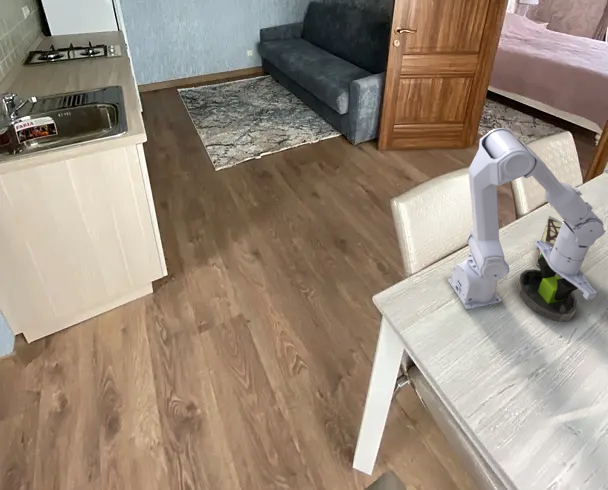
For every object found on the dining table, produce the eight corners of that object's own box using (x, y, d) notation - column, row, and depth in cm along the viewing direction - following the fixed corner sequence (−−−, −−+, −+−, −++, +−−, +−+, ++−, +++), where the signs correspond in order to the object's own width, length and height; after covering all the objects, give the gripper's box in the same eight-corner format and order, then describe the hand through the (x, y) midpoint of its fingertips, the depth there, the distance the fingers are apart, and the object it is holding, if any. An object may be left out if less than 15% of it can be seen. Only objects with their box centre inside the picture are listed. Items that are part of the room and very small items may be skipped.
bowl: (571, 333, 77) (575, 324, 76) (512, 302, 84) (515, 293, 82) (574, 295, 85) (578, 287, 84) (520, 269, 92) (523, 261, 91)
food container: (563, 283, 88) (575, 254, 85) (535, 270, 92) (545, 242, 88) (565, 251, 97) (576, 224, 94) (539, 241, 101) (549, 214, 97)
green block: (548, 303, 83) (553, 290, 81) (537, 291, 86) (542, 278, 84) (564, 300, 84) (569, 287, 82) (552, 288, 86) (558, 275, 85)
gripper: (615, 275, 73) (594, 318, 78) (556, 224, 86) (542, 264, 91) (588, 280, 72) (568, 323, 77) (532, 228, 85) (519, 268, 90)
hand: (552, 291), depth 84 cm, fingers closed on green block, 3 cm apart
